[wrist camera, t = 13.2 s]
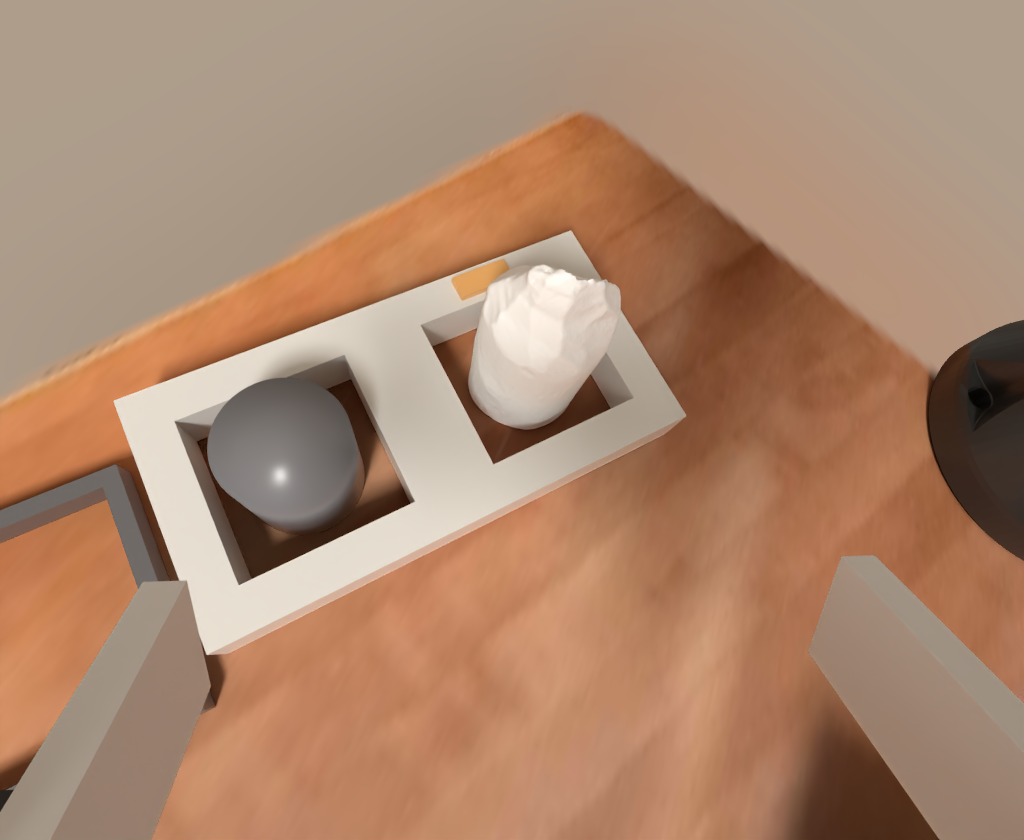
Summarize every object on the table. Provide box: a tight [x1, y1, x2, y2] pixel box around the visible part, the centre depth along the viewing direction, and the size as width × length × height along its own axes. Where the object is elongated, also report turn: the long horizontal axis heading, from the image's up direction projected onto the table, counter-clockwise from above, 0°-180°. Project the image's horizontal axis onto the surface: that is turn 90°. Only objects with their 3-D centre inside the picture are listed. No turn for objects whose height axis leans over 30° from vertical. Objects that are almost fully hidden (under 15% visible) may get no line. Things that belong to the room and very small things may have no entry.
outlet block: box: [114, 230, 687, 655], centre depth 29 cm, size 12×24×6 cm, turn 118°
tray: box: [0, 464, 215, 790], centre depth 26 cm, size 12×12×2 cm
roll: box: [468, 264, 621, 430], centre depth 28 cm, size 6×12×6 cm
